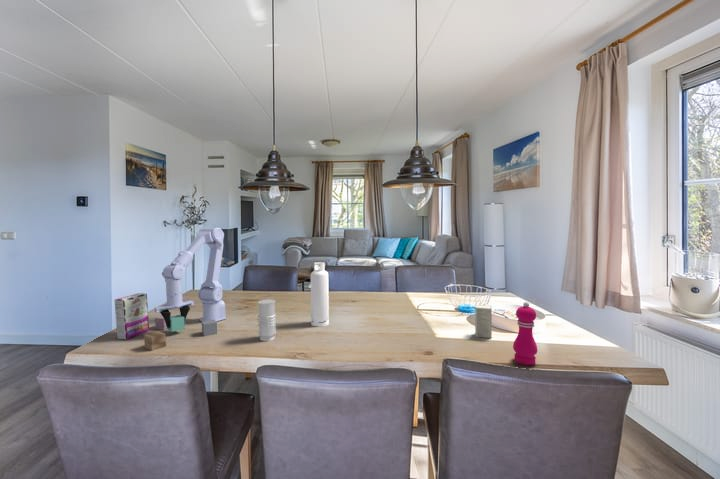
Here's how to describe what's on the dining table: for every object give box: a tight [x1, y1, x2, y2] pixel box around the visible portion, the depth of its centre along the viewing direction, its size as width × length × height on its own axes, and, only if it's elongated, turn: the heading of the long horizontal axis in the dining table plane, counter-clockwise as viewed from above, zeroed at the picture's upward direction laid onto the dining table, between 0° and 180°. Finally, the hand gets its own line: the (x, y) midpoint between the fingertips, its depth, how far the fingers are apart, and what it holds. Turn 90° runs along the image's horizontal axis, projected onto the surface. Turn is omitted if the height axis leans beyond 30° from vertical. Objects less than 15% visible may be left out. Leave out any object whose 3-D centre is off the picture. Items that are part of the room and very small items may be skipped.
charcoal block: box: [201, 319, 218, 337], centre depth 137 cm, size 5×5×5 cm
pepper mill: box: [512, 301, 538, 366], centre depth 108 cm, size 7×7×20 cm
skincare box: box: [474, 304, 493, 339], centre depth 132 cm, size 6×4×12 cm
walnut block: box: [143, 330, 167, 352], centre depth 122 cm, size 5×5×5 cm
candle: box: [257, 298, 277, 342], centre depth 131 cm, size 7×7×15 cm
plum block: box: [154, 315, 173, 331], centre depth 145 cm, size 5×5×5 cm
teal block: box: [166, 314, 186, 333], centre depth 137 cm, size 5×5×5 cm
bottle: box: [310, 261, 330, 327], centre depth 148 cm, size 8×8×28 cm
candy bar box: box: [114, 292, 150, 341], centre depth 135 cm, size 11×5×16 cm, turn 168°
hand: (175, 325), depth 137 cm, fingers closed on teal block, 5 cm apart
